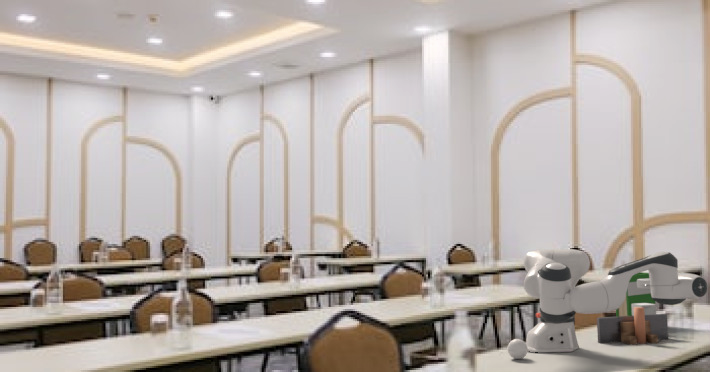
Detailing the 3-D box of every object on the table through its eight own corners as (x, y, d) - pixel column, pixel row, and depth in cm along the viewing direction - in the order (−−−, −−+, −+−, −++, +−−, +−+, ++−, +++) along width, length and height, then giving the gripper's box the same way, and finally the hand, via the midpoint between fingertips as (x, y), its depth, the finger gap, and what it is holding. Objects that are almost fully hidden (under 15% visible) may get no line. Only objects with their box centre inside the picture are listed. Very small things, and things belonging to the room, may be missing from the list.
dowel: (638, 343, 291) (636, 308, 291) (633, 342, 295) (631, 307, 295) (648, 343, 291) (646, 308, 292) (643, 341, 295) (641, 306, 296)
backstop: (600, 343, 295) (599, 318, 295) (597, 342, 297) (596, 317, 297) (668, 338, 300) (667, 314, 300) (665, 337, 302) (664, 313, 302)
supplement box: (643, 334, 311) (641, 305, 311) (632, 332, 318) (630, 303, 318) (657, 333, 313) (656, 304, 313) (646, 331, 320) (645, 302, 320)
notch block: (630, 344, 289) (629, 324, 290) (621, 341, 296) (620, 322, 296) (658, 342, 291) (657, 322, 291) (648, 340, 298) (647, 320, 298)
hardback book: (629, 329, 326) (626, 275, 327) (616, 327, 332) (613, 275, 333) (656, 325, 334) (653, 273, 335) (643, 323, 340) (640, 272, 341)
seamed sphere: (525, 356, 273) (524, 336, 274) (530, 360, 266) (529, 340, 266) (498, 357, 273) (497, 338, 273) (503, 361, 266) (502, 341, 266)
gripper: (648, 294, 267) (628, 291, 281) (699, 291, 270) (677, 288, 284) (647, 276, 267) (627, 274, 281) (698, 274, 271) (676, 272, 284)
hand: (653, 281), depth 282 cm, fingers open, 8 cm apart
